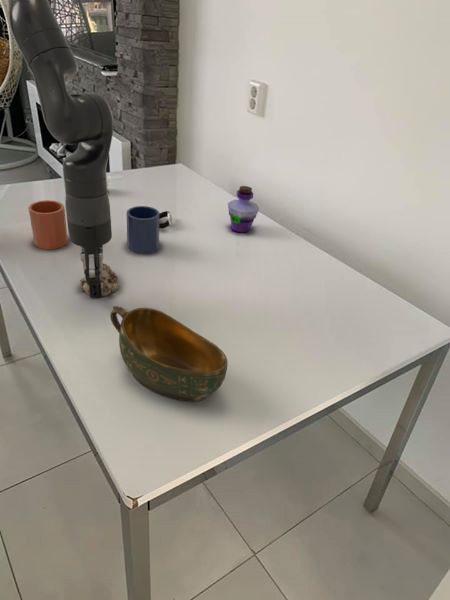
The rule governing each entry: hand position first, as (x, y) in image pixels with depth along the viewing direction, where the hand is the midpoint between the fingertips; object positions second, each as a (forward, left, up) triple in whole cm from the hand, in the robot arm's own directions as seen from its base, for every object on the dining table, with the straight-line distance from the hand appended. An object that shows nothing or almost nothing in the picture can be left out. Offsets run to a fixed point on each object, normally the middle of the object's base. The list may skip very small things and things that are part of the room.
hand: (96, 296), depth 90 cm
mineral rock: (0, +6, -2) cm, 7 cm away
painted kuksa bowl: (+15, -20, -2) cm, 25 cm away
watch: (+12, +37, -2) cm, 39 cm away
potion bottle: (+33, +37, -2) cm, 50 cm away
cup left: (-14, +24, -2) cm, 28 cm away
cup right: (+8, +24, -2) cm, 26 cm away
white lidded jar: (-8, +57, -2) cm, 58 cm away
